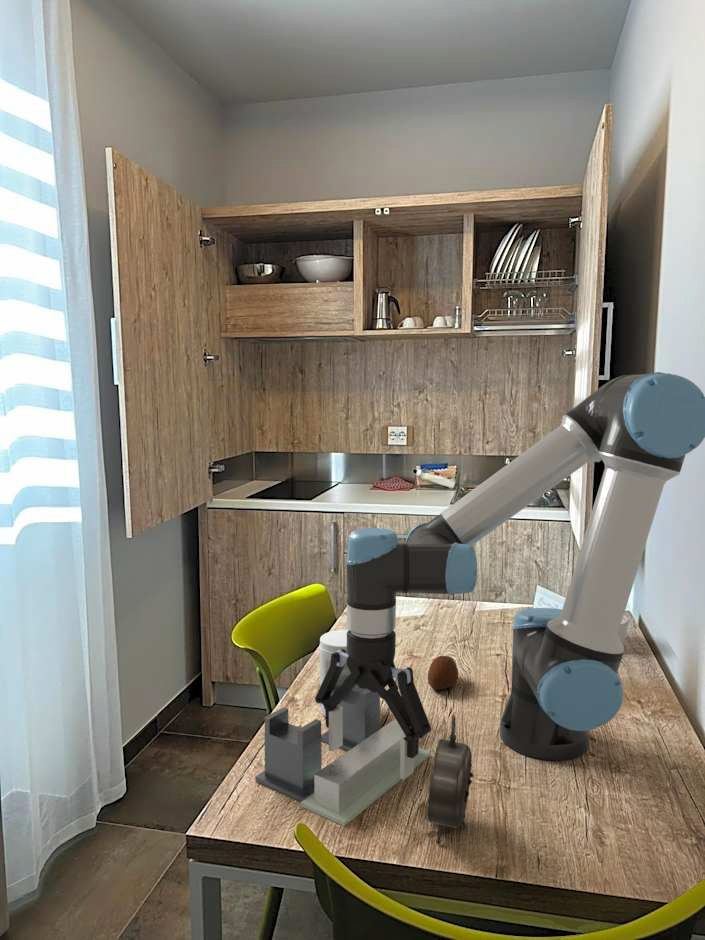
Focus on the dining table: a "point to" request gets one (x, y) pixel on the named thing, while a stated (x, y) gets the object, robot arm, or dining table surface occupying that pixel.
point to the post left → (291, 756)
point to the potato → (442, 672)
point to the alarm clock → (449, 783)
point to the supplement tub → (328, 646)
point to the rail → (358, 769)
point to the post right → (357, 716)
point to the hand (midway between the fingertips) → (370, 761)
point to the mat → (366, 798)
